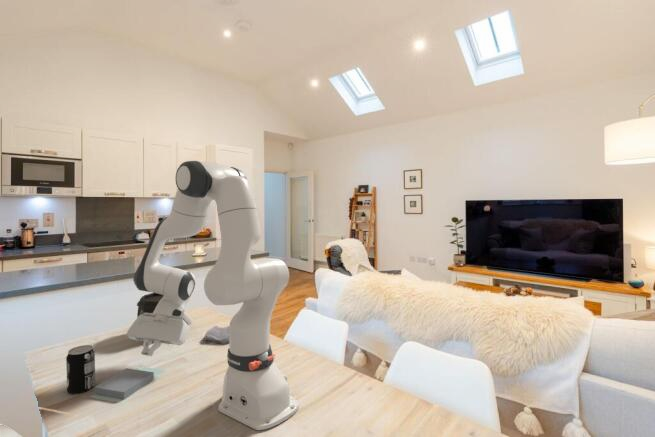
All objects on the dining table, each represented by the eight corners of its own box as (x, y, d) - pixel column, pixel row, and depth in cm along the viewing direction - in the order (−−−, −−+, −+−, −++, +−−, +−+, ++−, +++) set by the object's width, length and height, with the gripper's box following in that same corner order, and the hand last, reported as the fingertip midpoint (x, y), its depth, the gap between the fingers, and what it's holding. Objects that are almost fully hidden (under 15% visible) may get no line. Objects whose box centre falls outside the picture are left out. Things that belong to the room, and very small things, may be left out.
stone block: (231, 348, 128) (240, 333, 138) (230, 337, 127) (239, 323, 137) (202, 348, 129) (212, 333, 139) (200, 337, 128) (211, 323, 138)
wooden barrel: (128, 334, 136) (127, 296, 135) (171, 322, 150) (170, 288, 150) (148, 346, 125) (148, 305, 124) (192, 332, 139) (192, 295, 139)
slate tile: (126, 368, 103) (94, 387, 93) (153, 372, 101) (124, 392, 91) (126, 374, 104) (94, 394, 93) (153, 379, 101) (124, 399, 91)
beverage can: (65, 389, 96) (64, 348, 95) (93, 381, 101) (92, 342, 100) (68, 399, 91) (67, 356, 91) (97, 389, 96) (96, 349, 95)
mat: (166, 371, 107) (166, 370, 107) (120, 403, 89) (120, 402, 89) (140, 367, 109) (140, 366, 109) (90, 398, 92) (90, 397, 92)
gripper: (136, 307, 114) (112, 347, 105) (188, 312, 109) (168, 354, 100) (146, 316, 118) (124, 355, 109) (196, 321, 114) (178, 362, 105)
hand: (146, 355), depth 105 cm, fingers closed
